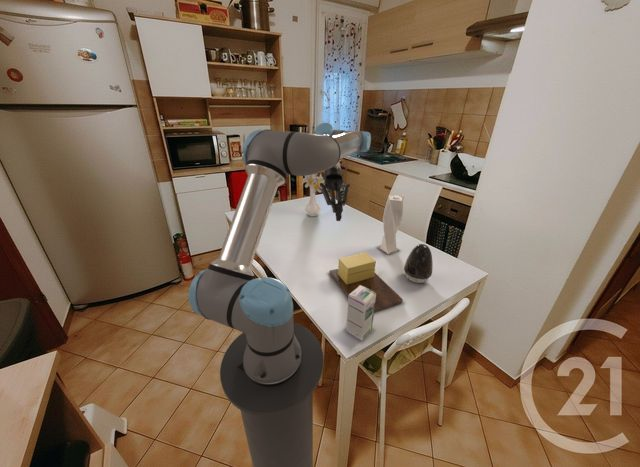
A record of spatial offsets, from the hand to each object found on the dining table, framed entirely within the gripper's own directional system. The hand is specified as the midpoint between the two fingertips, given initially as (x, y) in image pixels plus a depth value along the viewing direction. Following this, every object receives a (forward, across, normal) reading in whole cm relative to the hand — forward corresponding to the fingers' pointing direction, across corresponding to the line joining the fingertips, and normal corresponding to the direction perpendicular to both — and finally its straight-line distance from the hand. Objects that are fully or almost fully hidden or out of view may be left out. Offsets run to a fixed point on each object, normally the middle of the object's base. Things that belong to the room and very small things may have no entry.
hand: (339, 219), depth 100 cm
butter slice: (+17, -6, -7) cm, 19 cm away
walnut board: (+24, -8, -9) cm, 27 cm away
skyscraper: (+3, -28, -21) cm, 35 cm away
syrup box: (+41, -1, +1) cm, 41 cm away
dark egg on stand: (+22, -30, -9) cm, 39 cm away
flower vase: (-33, +1, -47) cm, 58 cm away
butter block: (+19, -7, -11) cm, 23 cm away
